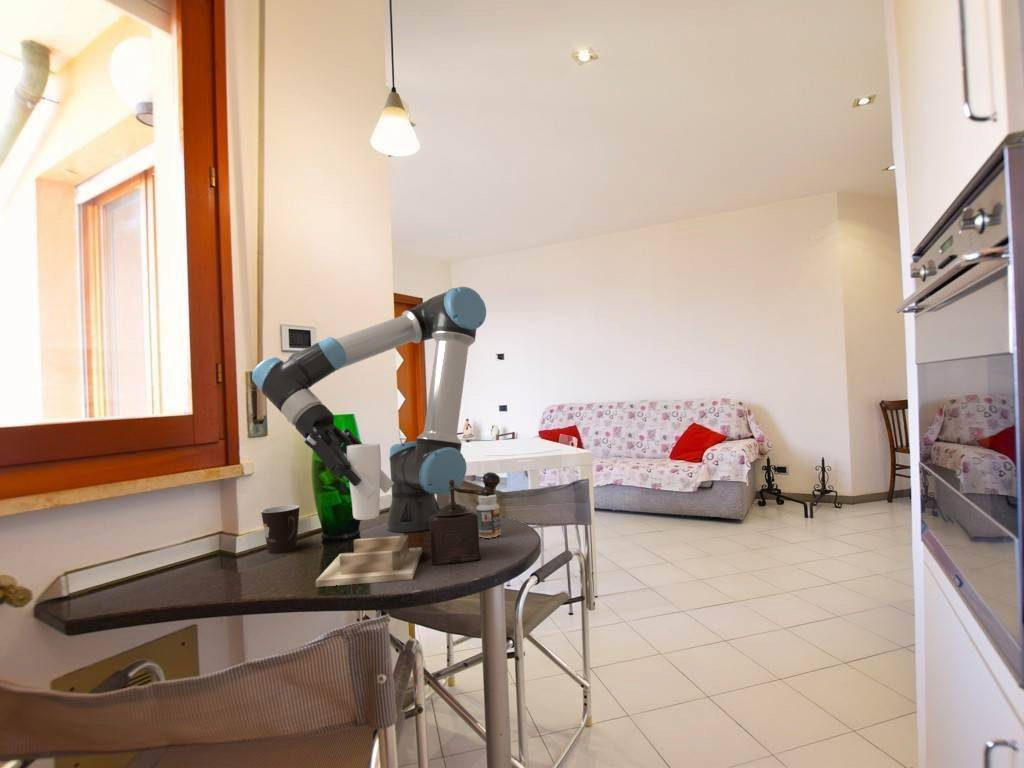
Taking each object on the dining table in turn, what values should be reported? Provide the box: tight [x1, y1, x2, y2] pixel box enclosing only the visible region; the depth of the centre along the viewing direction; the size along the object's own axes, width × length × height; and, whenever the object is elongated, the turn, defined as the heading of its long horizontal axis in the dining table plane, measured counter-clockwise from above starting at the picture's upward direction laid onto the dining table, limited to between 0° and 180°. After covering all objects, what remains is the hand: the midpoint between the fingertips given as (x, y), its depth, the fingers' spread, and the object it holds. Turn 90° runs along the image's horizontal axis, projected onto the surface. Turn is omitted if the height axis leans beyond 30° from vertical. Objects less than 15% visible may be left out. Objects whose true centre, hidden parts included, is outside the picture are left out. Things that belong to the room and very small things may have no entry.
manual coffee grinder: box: [429, 471, 501, 566], centre depth 115 cm, size 16×11×18 cm
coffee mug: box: [260, 504, 301, 555], centre depth 127 cm, size 12×9×10 cm
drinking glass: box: [346, 442, 382, 521], centre depth 109 cm, size 7×7×15 cm
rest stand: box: [315, 534, 423, 588], centre depth 109 cm, size 18×18×5 cm
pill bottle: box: [475, 494, 502, 538], centre depth 130 cm, size 6×6×10 cm
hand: (380, 491), depth 108 cm, fingers closed on drinking glass, 7 cm apart
